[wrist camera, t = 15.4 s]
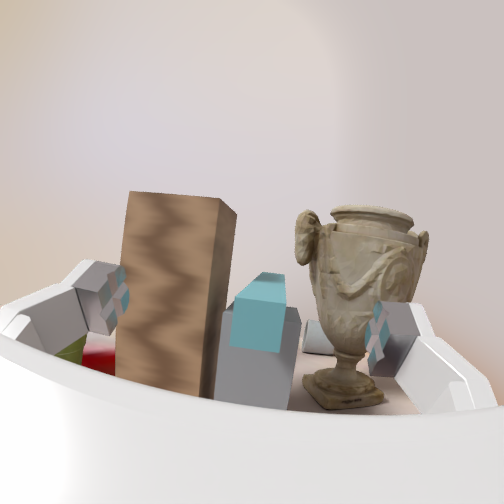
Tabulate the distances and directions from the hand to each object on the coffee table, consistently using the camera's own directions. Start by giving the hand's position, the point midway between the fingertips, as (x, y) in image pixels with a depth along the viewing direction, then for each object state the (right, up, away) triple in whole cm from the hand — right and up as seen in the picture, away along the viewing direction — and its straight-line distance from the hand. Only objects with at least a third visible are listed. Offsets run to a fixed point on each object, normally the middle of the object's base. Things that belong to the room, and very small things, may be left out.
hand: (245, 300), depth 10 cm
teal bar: (+2, -4, +22) cm, 22 cm away
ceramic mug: (+16, -22, +63) cm, 69 cm away
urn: (+15, -22, +38) cm, 46 cm away
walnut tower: (-10, -19, +25) cm, 33 cm away
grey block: (-1, -20, +22) cm, 30 cm away
